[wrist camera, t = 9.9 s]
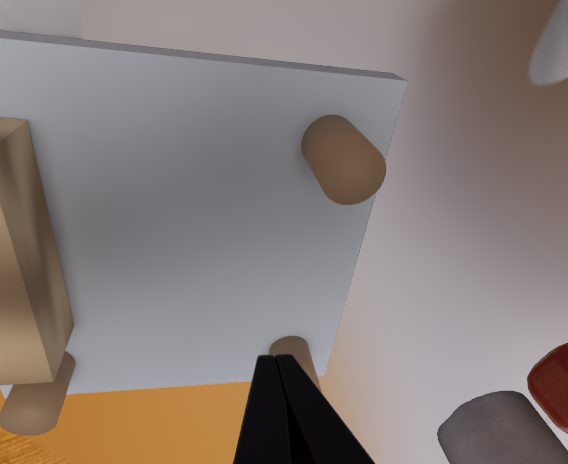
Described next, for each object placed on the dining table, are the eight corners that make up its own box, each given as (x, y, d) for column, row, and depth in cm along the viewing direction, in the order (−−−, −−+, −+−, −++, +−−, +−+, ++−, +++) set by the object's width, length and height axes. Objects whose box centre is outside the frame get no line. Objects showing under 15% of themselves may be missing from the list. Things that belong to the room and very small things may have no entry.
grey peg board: (393, 73, 18) (450, 102, 14) (318, 357, 29) (338, 422, 25) (-121, 17, 14) (-262, 36, 10) (15, 376, 24) (-23, 459, 20)
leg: (-46, 115, 14) (-119, 156, 11) (27, 119, 15) (-23, 160, 12) (24, 327, 20) (-10, 395, 17) (74, 325, 21) (50, 391, 18)
